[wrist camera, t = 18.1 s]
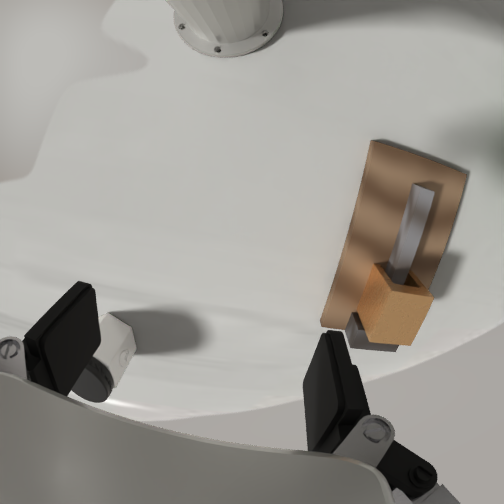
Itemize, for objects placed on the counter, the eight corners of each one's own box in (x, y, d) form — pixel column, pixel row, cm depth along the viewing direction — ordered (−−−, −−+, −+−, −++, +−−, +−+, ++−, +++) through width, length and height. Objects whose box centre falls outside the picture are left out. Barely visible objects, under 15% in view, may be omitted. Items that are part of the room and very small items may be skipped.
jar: (140, 358, 47) (115, 410, 36) (100, 350, 47) (70, 397, 36) (131, 315, 44) (97, 366, 33) (87, 308, 44) (50, 354, 33)
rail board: (370, 140, 32) (387, 143, 27) (460, 172, 32) (484, 180, 27) (320, 320, 42) (325, 345, 37) (403, 330, 42) (415, 353, 37)
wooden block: (373, 263, 36) (391, 290, 30) (412, 270, 37) (434, 297, 30) (356, 309, 39) (369, 342, 33) (393, 314, 39) (410, 345, 33)
